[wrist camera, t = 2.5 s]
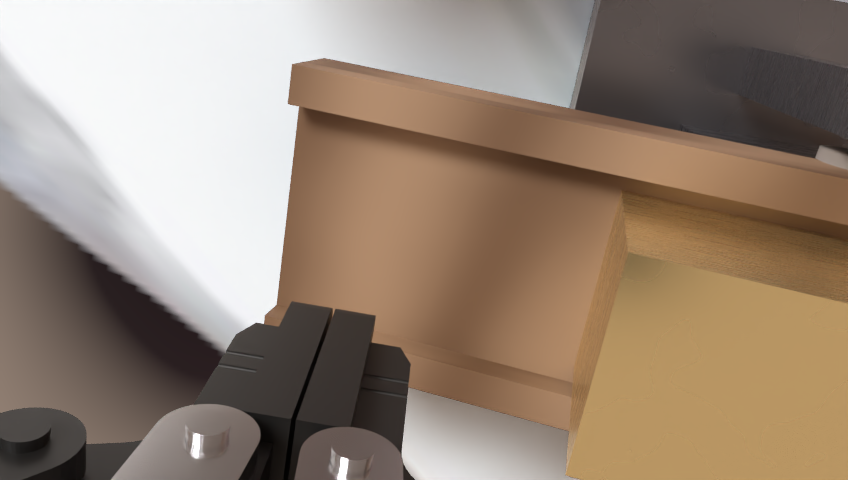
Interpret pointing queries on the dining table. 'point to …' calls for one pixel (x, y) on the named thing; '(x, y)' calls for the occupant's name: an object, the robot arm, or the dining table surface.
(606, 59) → the pivot stand
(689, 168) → the balance beam
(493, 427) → the dining table surface
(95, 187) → the dining table surface
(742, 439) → the block
